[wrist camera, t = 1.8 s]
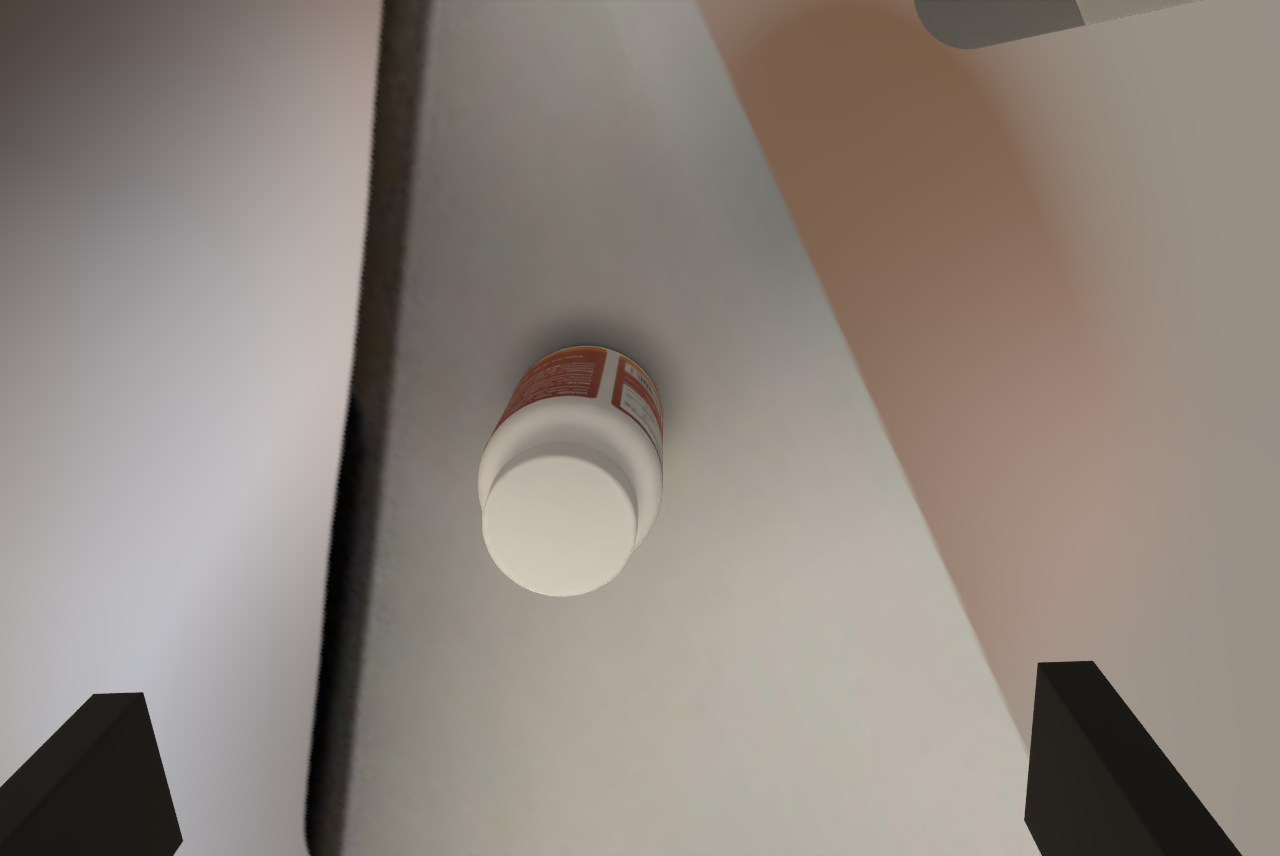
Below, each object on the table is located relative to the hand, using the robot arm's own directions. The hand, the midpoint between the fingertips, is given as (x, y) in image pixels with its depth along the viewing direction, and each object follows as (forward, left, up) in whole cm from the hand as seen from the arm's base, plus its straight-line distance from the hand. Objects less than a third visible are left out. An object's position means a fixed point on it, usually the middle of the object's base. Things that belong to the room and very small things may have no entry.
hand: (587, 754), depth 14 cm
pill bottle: (+3, +1, -25) cm, 25 cm away
